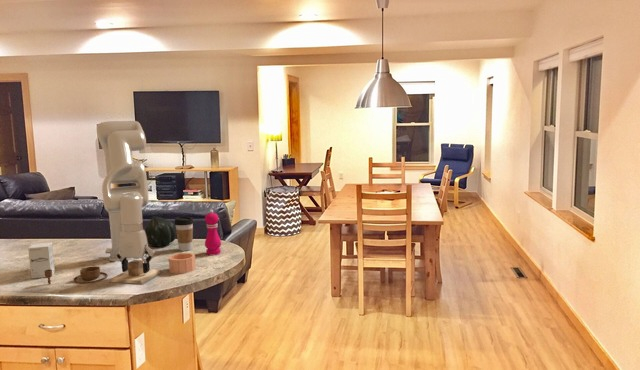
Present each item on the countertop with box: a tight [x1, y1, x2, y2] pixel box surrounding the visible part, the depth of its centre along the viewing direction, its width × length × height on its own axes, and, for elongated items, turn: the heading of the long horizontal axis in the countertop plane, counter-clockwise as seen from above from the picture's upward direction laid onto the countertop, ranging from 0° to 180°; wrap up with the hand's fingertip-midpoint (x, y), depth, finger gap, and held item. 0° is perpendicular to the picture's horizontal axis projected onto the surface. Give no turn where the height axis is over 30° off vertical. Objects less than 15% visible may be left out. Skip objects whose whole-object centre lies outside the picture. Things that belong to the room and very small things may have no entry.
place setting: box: [44, 265, 108, 287], centre depth 196 cm, size 18×20×6 cm
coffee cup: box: [174, 216, 194, 252], centre depth 235 cm, size 8×8×15 cm
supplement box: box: [27, 241, 56, 280], centre depth 201 cm, size 7×7×13 cm
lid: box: [110, 259, 162, 284], centre depth 195 cm, size 13×13×6 cm
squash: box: [144, 216, 177, 247], centre depth 245 cm, size 14×15×15 cm
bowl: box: [168, 252, 196, 275], centre depth 203 cm, size 10×10×6 cm
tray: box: [106, 271, 165, 286], centre depth 195 cm, size 15×15×1 cm
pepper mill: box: [204, 209, 222, 256], centre depth 227 cm, size 7×7×20 cm
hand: (136, 271), depth 195 cm, fingers open, 8 cm apart
